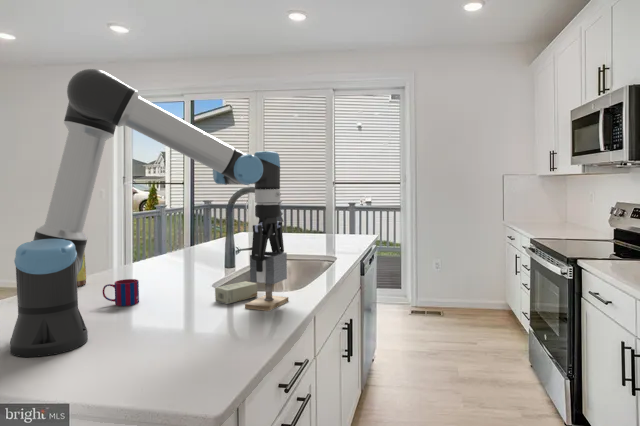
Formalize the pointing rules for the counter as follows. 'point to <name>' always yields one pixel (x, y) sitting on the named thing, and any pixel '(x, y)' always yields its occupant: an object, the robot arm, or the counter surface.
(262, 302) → the block
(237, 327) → the counter surface
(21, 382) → the counter surface
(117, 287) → the mug
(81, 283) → the sauce bottle
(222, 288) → the skincare box
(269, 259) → the hollow grey cube box
